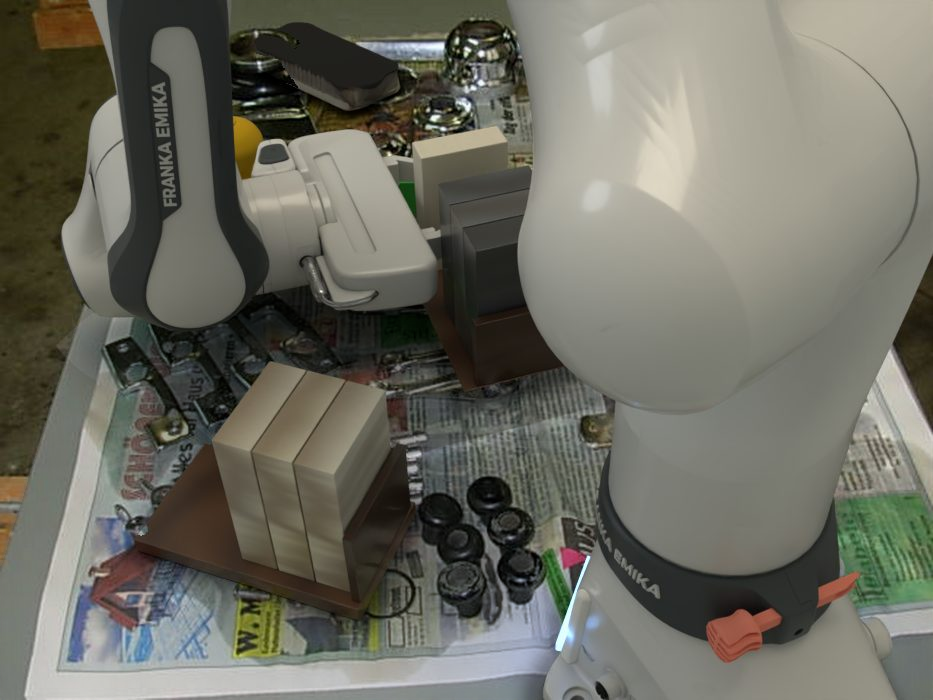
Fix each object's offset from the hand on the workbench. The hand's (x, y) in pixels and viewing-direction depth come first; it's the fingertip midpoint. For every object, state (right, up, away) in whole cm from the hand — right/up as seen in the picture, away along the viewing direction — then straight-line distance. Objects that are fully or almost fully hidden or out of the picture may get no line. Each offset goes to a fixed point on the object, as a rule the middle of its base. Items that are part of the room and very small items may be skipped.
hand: (457, 196), depth 89 cm
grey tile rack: (+2, -9, 0) cm, 10 cm away
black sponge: (-14, +16, +29) cm, 36 cm away
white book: (0, -4, +4) cm, 6 cm away
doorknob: (-20, +2, +14) cm, 24 cm away
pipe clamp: (-6, 0, +11) cm, 13 cm away
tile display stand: (-12, -24, -16) cm, 31 cm away
